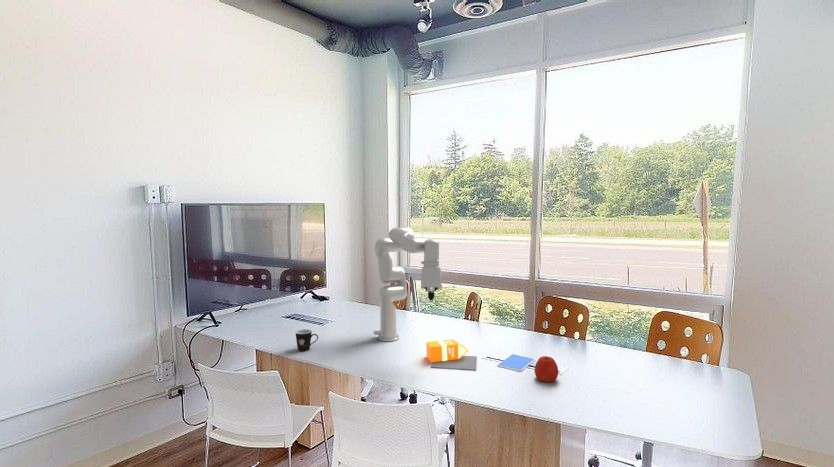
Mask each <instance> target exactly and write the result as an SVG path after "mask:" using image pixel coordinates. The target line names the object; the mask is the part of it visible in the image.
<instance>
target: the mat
mask: <svg viewBox="0 0 834 467" xmlns="http://www.w3.org/2000/svg"><path fill="white" fill-rule="evenodd" d="M477 359H478V356H475V355H463V356H462V357H460V358H459V359H454V360H446V361H436V362H431V364H430V368H432V369H448V370H458V371H459V370H461V371H475V372H476V371H477V365H478V364H477V363H478V360H477Z"/></svg>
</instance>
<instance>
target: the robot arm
mask: <svg viewBox="0 0 834 467" xmlns="http://www.w3.org/2000/svg"><path fill="white" fill-rule="evenodd" d="M403 251H405V252H408V253H409V254H420V253H421V254H422V253H423V260H421V261H420V264H421V265H423V266H421V272H420V273H421V274H420V288H421V289H423V290H424V289H425V291H426V292H427V299H428V301H433V300H434V299H435V292H437V290H440V289H441V290H442V288H443V286H442V270H441V266H440V241H439V240H438V239H432V238H430V237H419V238H415V232H414V230H413V229H412V228H411V227H408V226H407V227H393V228H392V229H390V230H389V232H388V237H382V238H379V239H377V240H376V242H375V245H374V252H375V255H376V258H377V264H378V274H379V276H378V277H379V280H380V283H382V284H390V285H383V286H381V287H380V288H379V290H378V298H379V299H378V300H379V308H380V309H379V311H380V313H379V315H380V317H379V318H380V330H373V335H375V336H376V335H377V340H379V341H381V342H394V341H397V340H399V339H400V335H399V334H398V333H397V307H396V305H395V304H394V302H397V301H402V300H405V299H406V298H407V296H408V286H407V277H406V276H407V275H406V272H405V270H404V268H403V267H402V266H399V265H398V266H394V264H393V258H392V257H391V255H390V254H389V253H395V252H398V253H399V252H403ZM394 283H395V284H394Z"/></svg>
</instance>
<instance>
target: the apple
mask: <svg viewBox="0 0 834 467" xmlns="http://www.w3.org/2000/svg"><path fill="white" fill-rule="evenodd" d="M534 376H535V377H536V378H537V380H539V381H541V382H544V383H551V382H552V383H553V382H555V381H557V379H558V376H559V367H558V365H557V362H556V361H555V359H554V358H553V357H552V356H547V355H543V356H540V357H539V358H538V359H537V361H536V363H535V366H534Z"/></svg>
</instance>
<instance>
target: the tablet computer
mask: <svg viewBox="0 0 834 467" xmlns="http://www.w3.org/2000/svg"><path fill="white" fill-rule="evenodd" d="M535 361H536V359H534V358H532V357H526V356H522V355H519V354H511V355H509V356H508V357H506V358H505V359H503V360H502V361H500V362H499V363H498V364H496V366H497V367H498V368H502V369H507V370H511V371H515V372H519V373H520V372H523V371H524V370H525V369H526V368H527V367H529V366H530V365H531V364H533V362H535Z"/></svg>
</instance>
